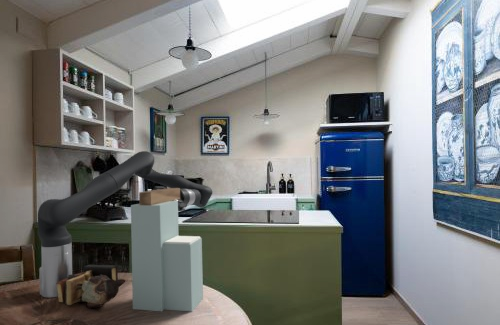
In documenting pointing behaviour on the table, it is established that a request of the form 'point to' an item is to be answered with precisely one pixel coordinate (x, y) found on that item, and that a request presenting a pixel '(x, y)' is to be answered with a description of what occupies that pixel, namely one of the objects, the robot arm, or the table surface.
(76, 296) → the bookend
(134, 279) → the stand
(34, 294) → the table surface
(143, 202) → the walnut bar
